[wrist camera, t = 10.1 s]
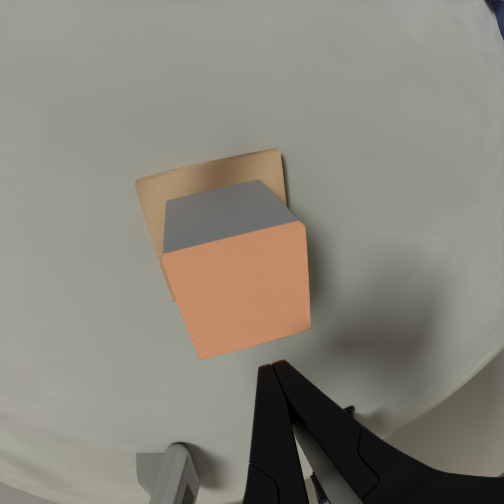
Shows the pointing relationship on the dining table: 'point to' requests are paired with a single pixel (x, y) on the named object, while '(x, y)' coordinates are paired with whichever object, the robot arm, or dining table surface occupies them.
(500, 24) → the hand press
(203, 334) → the grey-topped salmon cube
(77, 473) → the dining table surface
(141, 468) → the digital clock
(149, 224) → the tan piece
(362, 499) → the robot arm
